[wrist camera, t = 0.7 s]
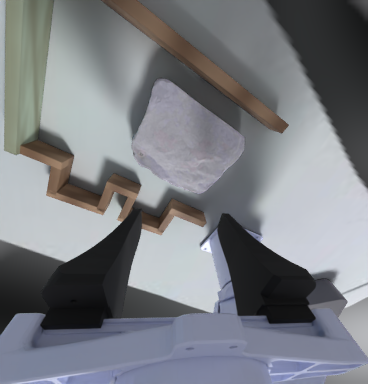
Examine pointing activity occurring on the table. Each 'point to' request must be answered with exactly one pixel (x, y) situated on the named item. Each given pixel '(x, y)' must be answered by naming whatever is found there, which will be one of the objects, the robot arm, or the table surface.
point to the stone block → (184, 140)
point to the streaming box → (326, 297)
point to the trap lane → (33, 95)
